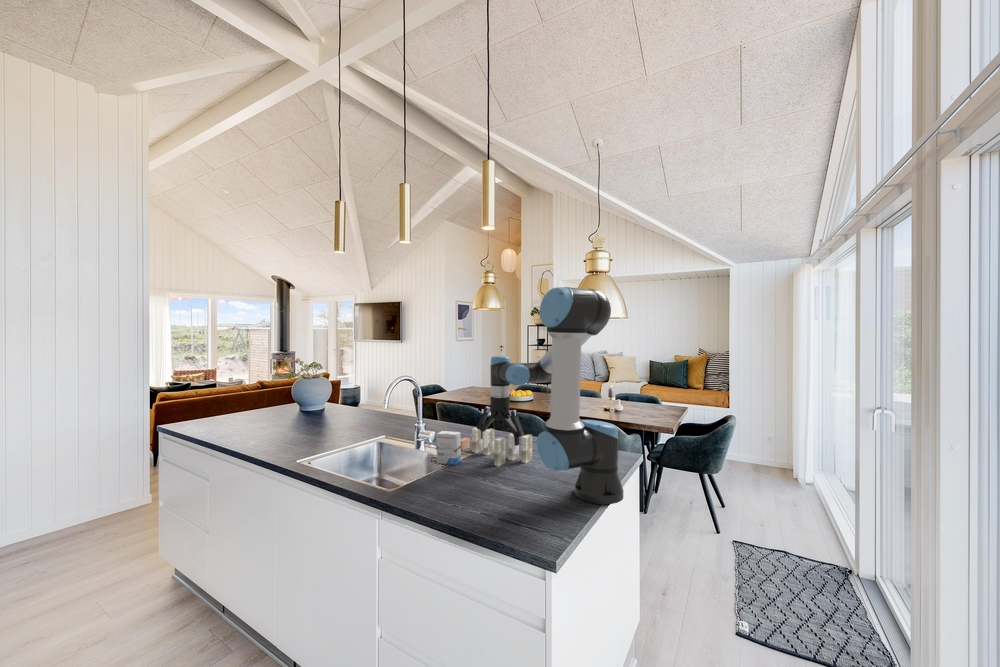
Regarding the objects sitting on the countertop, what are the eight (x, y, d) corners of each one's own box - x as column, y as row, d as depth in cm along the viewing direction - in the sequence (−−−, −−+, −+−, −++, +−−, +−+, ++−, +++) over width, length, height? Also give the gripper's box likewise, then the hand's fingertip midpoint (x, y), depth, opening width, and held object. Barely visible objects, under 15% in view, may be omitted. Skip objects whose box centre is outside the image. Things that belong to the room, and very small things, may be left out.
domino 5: (526, 463, 161) (526, 437, 161) (521, 462, 162) (521, 437, 162) (532, 459, 166) (532, 435, 165) (527, 459, 167) (527, 434, 166)
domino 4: (512, 460, 165) (512, 435, 164) (508, 459, 166) (508, 434, 165) (518, 457, 169) (519, 432, 169) (514, 456, 170) (514, 432, 170)
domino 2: (487, 455, 171) (487, 431, 171) (483, 454, 172) (483, 430, 172) (494, 452, 175) (494, 429, 175) (490, 451, 176) (490, 428, 176)
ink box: (461, 461, 163) (461, 431, 163) (456, 465, 158) (456, 435, 158) (441, 459, 166) (441, 430, 166) (435, 463, 161) (436, 433, 161)
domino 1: (475, 453, 174) (476, 429, 174) (472, 452, 175) (472, 428, 175) (482, 450, 178) (482, 427, 178) (478, 449, 179) (478, 426, 179)
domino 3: (498, 466, 157) (498, 440, 157) (494, 465, 158) (494, 439, 158) (505, 462, 162) (505, 437, 162) (501, 462, 163) (501, 436, 163)
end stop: (462, 450, 178) (462, 441, 178) (456, 449, 179) (456, 440, 179) (469, 447, 182) (469, 438, 182) (464, 446, 184) (464, 437, 184)
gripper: (533, 397, 156) (532, 453, 157) (479, 391, 170) (478, 443, 170) (523, 400, 150) (523, 459, 150) (468, 394, 163) (467, 447, 164)
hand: (499, 450), depth 160 cm, fingers open, 13 cm apart
